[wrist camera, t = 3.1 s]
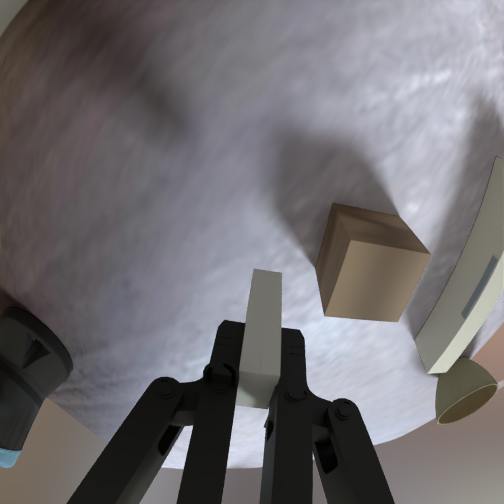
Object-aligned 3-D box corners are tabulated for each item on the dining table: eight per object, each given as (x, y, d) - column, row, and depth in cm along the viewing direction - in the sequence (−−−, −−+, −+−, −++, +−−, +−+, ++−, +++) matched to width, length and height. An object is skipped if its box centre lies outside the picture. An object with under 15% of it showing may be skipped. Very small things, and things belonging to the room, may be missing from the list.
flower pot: (411, 387, 34) (423, 427, 28) (455, 341, 29) (475, 384, 23) (451, 388, 35) (463, 423, 29) (491, 347, 30) (509, 383, 24)
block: (314, 267, 24) (324, 316, 19) (332, 202, 21) (350, 240, 16) (377, 276, 24) (397, 322, 19) (399, 216, 21) (431, 254, 16)
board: (412, 340, 29) (425, 373, 24) (495, 155, 17) (530, 173, 13) (432, 340, 29) (446, 372, 24) (513, 166, 17) (547, 185, 13)
